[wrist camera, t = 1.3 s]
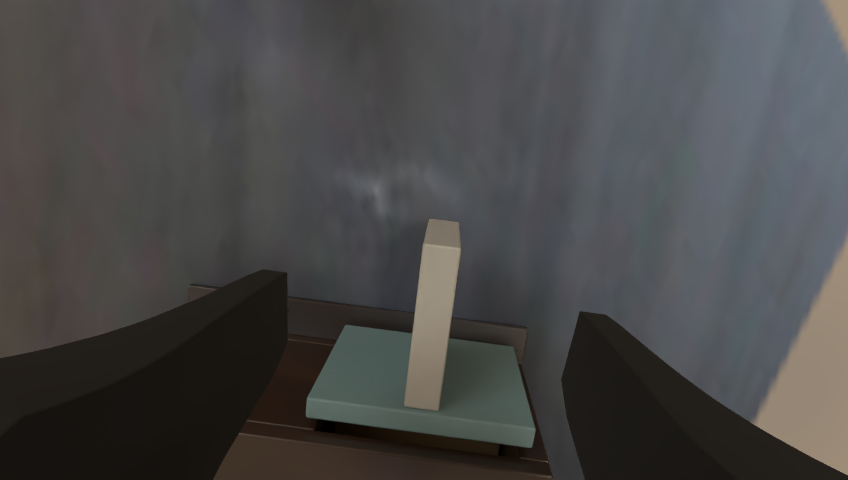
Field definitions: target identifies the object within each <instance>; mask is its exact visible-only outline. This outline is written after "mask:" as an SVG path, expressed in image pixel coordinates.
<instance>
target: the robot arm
mask: <svg viewBox="0 0 848 480" xmlns="http://www.w3.org/2000/svg"><path fill="white" fill-rule="evenodd" d="M287 343H288V307H287V273H285V272H278V271H270V270H260V271H257V272H255V273H252V274H250V275H248V276H245V277H243V278H241V279H239V280H237V281H235V282H232V283H230V284H228V285H226V286H224V287H222V288H220V289H218V290H215V291H213V292H211V293H209V294H207V295H205V296H202V297H200V298H198V299H196V300H193V301H191V302H189V303H186V304H184V305H182V306H179V307H177V308H174V309H172V310H170V311H167V312H165V313H162V314H160V315H158V316H155V317H152V318H150V319H147V320H144V321H141V322H139V323H136V324H133V325H130V326H127V327H124V328H121V329H118V330H114V331H111V332H108V333H105V334H102V335H98V336H94V337H91V338H87V339H83V340H79V341H75V342H71V343H67V344H64V345H60V346H56V347H52V348H48V349H44V350H39V351H34V352H30V353H25V354H20V355H15V356H10V357H5V358H0V480H213V479H214V477H215V475H216V473H217V471H218V469H219V467H220V465H221V463H222V462H223V460H224V458H225V456H226V454H227V452H228V451H229V449H230V447H231V446H232V444H233V443H234V441H235V439H236V438H237V436H238V434H239V433H240V431H241V429H242V428H243V426H244V424H245V423H246V421H247V419H248V418H249V416H250V415H251V413H252V411H253V410H254V408H255V406H256V405H257V403H258V401H259V400H260V398H261V396H262V395H263V393H264V391H265V390H266V388H267V386H268V385H269V383H270V381H271V379H272V378H273V376H274V374H275V371H276V369H277V367H278V365H279V362H280V360H281V358H282V355H283V353H284V350H285V348H286V345H287ZM561 380H562V387H563V395H564V402H565V408H566V415H567V419H568V423H569V427H570V430H571V434H572V437H573V441H574V444H575V447H576V451H577V454H578V458H579V461H580V464H581V468H582V471H583V475H584V478H585V480H848V475H846V474H844V473H842V472H840V471H837V470H836V469H834V468H831V467H830V466H828V465H826V464H824V463H822V462H820V461H818V460H816V459H814V458H812V457H810V456H808V455H806V454H805V453H803V452H801V451H799V450H797V449H796V448H794V447H792V446H790V445H788V444H786V443H785V442H783V441H781V440H779V439H777V438H776V437H774V436H772V435H770V434H769V433H767V432H765V431H763V430H762V429H760V428H758V427H757V426H755V425H753V424H752V423H750V422H749V421H747V420H746V419H744V418H742V417H741V416H739V415H738V414H736V413H735V412H733V411H731V410H730V409H728V408H727V407H725V406H724V405H722V404H721V403H719V402H718V401H716V400H715V399H713V398H712V397H710V396H709V395H708V394H706V393H705V392H703V391H702V390H701V389H699V388H698V387H697V386H695V385H694V384H693V383H691V382H690V381H688V380H687V379H686V378H684V377H683V376H682V375H680V374H679V373H678V372H677V371H675V370H674V369H673V368H671V367H670V366H669V365H668V364H666V363H665V362H664V361H663V360H661V359H660V358H659V357H658V356H657V355H655V354H654V353H653V352H652V351H650V350H649V349H648V348H647V347H646V346H644V345H643V344H642V343H641V342H640V341H638V340H637V339H636V338H635V337H634V336H632V335H631V334H630V333H629V332H628V331H626V330H625V329H624V328H623V327H621V326H620V325H619V324H618V323H616V322H615V321H614V320H612V319H611V318H610V317H608V316H607V315H604V314H596V313H589V312H581V311H580V313H579V317H578V320H577V324H576V328H575V331H574V335H573V339H572V343H571V346H570V350H569V354H568V357H567V361H566V365H565V368H564V372H563V376H562V379H561Z"/></svg>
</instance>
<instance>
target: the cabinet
mask: <svg viewBox="0 0 848 480" xmlns="http://www.w3.org/2000/svg"><path fill="white" fill-rule="evenodd" d="M218 289H220V287H212V286H204V285H197V284H191V285H189V302H191V301H193V300H196V299H198V298H200V297H202V296H205V295H207V294H209V293H211V292H213V291H215V290H218ZM287 307H288V343H287V345H286V348H285V350H284V353H283V355H282V358H281V360H280V362H279V365H278V367H277V369H276V371H275V374H274V376H273V378H272V379H271V381H270V383H269V385H268V386H267V388H266V390H265V391H264V393H263V395H262V396H261V398H260V400H259V401H258V403H257V405H256V406H255V408H254V410H253V411H252V413H251V415H250V416H249V418H248V419H247V421H246V423H245V424H244V426H243V428H242V429H241V431H240V433H239V434H238V436H237V438H236V439H235V441H234V443H233V444H232V446H231V447H230V449H229V451H228V452H227V454H226V456H225V458H224V460H223V462H222V463H221V465H220V467H219V469H218V471H217V473H216V475H215V477H214V479H213V480H552V478H553V476H552V473H551V469H550V466H549V461H548V457H547V454H546V450H545V447H544V443H543V440H542V436H541V433H540V429H539V426H538V422H537V419H536V415H535V412H534V408H533V405H532V401H531V398H530V394H529V391H528V387H527V384H526V380H525V377H524V373H523V370H522V366H521V364H522V359H523V353H524V348H525V342H526V337H527V331H528V329H527V327H520V326H512V325H505V324H497V323H489V322H481V321H474V320H466V319H458V318H452V319H451V326H450V333H449V338H451V339H459V340H466V341H474V342H482V343H489V344H497V345H505V346H512V347H513V348H514V352H515V356H516V359H517V363H518V367H519V370H520V374H521V378H522V381H523V385H524V389H525V392H526V396H527V400H528V403H529V407H530V411H531V414H532V418H533V422H534V425H535V429H536V431H535V436H534V441H533V446H532V448H526V447H518V446H511V445H504V444H496V443H489V442H482V441H474V440H467V439H460V438H452V437H445V436H438V435H431V434H423V433H416V432H409V431H401V430H394V429H387V428H379V427H372V426H365V425H357V424H350V423H343V422H335V421H328V420H321V419H313V418H307V417H306V403H307V397H308V395H309V394H310V392H311V390H312V388H313V386H314V384H315V382H316V380H317V378H318V376H319V374H320V373H321V371H322V369H323V367H324V365H325V363H326V361H327V359H328V357H329V355H330V353H331V351H332V350H333V348H334V346H335V344H336V342H337V340H338V338H339V336H340V334H341V332H342V330H343V329H344V327H345V325H352V326H360V327H367V328H375V329H383V330H390V331H398V332H405V333H412V332H413V324H414V315H415V313H412V312H405V311H397V310H389V309H381V308H374V307H366V306H358V305H351V304H343V303H335V302H328V301H320V300H312V299H304V298H297V297H289V296H287Z"/></svg>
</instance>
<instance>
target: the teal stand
mask: <svg viewBox="0 0 848 480" xmlns="http://www.w3.org/2000/svg"><path fill="white" fill-rule="evenodd" d="M460 254H461V241H460V228H459V223H458V222H452V221H444V220H436V219H429V221H428V225H427V229H426V234H425V238H424V242H423V248H422V256H421V265H420V273H419V282H418V290H417V299H416V307H415V315H414V324H413V332H412V333H405V332H398V331H390V330H383V329H375V328H367V327H360V326H352V325H345V327H344V329H343V330H342V332H341V334H340V336H339V338H338V340H337V342H336V344H335V346H334V348H333V350H332V351H331V353H330V355H329V357H328V359H327V361H326V363H325V365H324V367H323V369H322V371H321V373H320V374H319V376H318V378H317V380H316V382H315V384H314V386H313V388H312V390H311V392H310V394H309V395H308V397H307V403H306V417H307V418H313V419H321V420H328V421H335V422H343V423H350V424H357V425H365V426H372V427H379V428H387V429H394V430H401V431H409V432H416V433H423V434H431V435H438V436H445V437H452V438H460V439H467V440H474V441H482V442H489V443H496V444H504V445H511V446H518V447H526V448H532V446H533V441H534V436H535V431H536V429H535V425H534V422H533V418H532V414H531V411H530V407H529V403H528V400H527V396H526V392H525V389H524V385H523V381H522V378H521V374H520V370H519V367H518V363H517V359H516V356H515V352H514V348H513V347H512V346H505V345H497V344H489V343H482V342H474V341H466V340H459V339H451V338H449V333H450V326H451V319H452V312H453V305H454V297H455V290H456V283H457V276H458V269H459V262H460Z"/></svg>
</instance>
